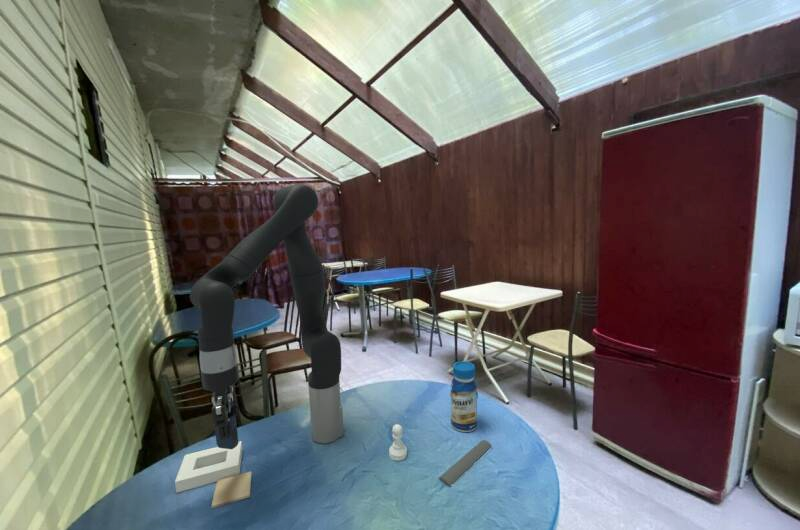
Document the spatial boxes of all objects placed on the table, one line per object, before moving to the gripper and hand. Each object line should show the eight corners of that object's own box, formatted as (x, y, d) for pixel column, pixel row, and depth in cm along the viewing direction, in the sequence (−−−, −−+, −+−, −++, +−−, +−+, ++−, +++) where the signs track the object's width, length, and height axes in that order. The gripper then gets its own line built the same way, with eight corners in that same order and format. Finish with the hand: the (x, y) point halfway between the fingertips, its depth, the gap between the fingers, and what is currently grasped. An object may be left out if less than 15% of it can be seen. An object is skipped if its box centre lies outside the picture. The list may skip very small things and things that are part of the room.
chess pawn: (405, 462, 87) (404, 432, 86) (387, 460, 88) (386, 430, 87) (408, 449, 92) (407, 420, 91) (391, 447, 93) (390, 418, 92)
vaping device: (233, 450, 77) (228, 403, 75) (214, 447, 78) (209, 401, 76) (241, 443, 79) (236, 397, 77) (222, 440, 80) (217, 395, 78)
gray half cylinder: (493, 450, 92) (493, 444, 92) (450, 490, 79) (450, 483, 79) (480, 443, 95) (480, 437, 95) (437, 480, 82) (437, 474, 82)
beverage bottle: (481, 421, 104) (481, 363, 101) (472, 436, 97) (472, 374, 94) (456, 413, 108) (456, 357, 106) (446, 427, 101) (445, 367, 98)
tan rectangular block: (251, 473, 85) (251, 471, 85) (249, 497, 78) (249, 494, 78) (217, 482, 82) (217, 480, 82) (211, 508, 75) (211, 506, 75)
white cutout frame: (242, 450, 94) (241, 440, 93) (239, 475, 84) (238, 464, 84) (186, 464, 89) (185, 454, 88) (176, 492, 80) (174, 482, 79)
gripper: (233, 374, 70) (241, 446, 73) (240, 350, 83) (246, 412, 86) (193, 381, 67) (202, 456, 70) (206, 355, 81) (214, 419, 83)
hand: (226, 431), depth 78 cm, fingers closed on vaping device, 3 cm apart
